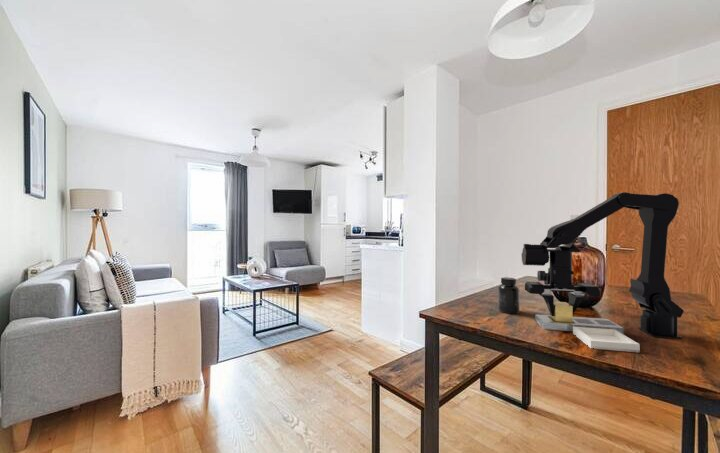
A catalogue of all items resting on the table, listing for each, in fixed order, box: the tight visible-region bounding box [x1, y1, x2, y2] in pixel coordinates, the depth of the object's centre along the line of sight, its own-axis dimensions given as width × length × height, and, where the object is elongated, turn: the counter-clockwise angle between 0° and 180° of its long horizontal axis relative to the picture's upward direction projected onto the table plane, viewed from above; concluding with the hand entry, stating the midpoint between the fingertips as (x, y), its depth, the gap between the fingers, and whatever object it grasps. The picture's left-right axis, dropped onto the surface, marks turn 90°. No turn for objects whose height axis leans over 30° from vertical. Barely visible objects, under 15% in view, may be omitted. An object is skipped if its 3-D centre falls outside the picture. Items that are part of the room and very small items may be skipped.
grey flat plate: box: [534, 314, 625, 335], centre depth 88 cm, size 20×8×2 cm, turn 75°
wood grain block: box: [549, 301, 574, 323], centre depth 89 cm, size 4×4×7 cm
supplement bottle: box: [497, 276, 520, 314], centre depth 105 cm, size 7×7×12 cm
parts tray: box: [572, 327, 641, 354], centre depth 77 cm, size 10×10×2 cm
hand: (561, 316), depth 89 cm, fingers closed on wood grain block, 4 cm apart
